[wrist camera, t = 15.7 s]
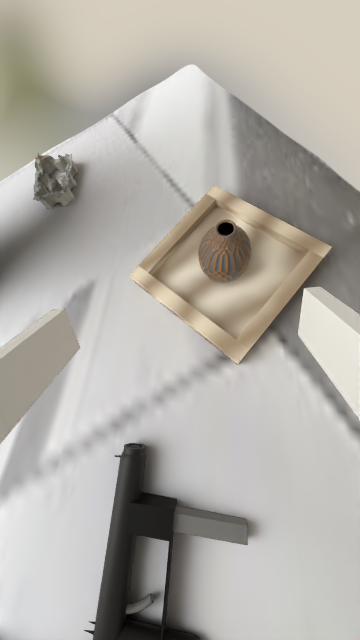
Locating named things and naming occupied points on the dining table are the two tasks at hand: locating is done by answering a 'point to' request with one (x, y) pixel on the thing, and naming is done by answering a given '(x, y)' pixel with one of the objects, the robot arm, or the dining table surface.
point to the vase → (224, 252)
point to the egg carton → (54, 180)
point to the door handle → (155, 522)
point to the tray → (240, 294)
